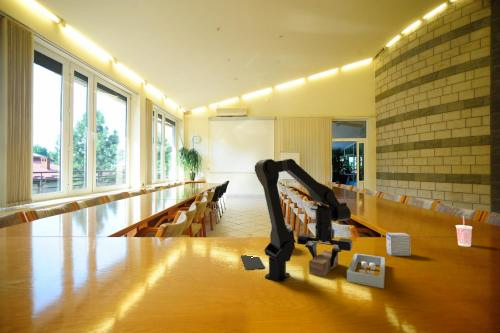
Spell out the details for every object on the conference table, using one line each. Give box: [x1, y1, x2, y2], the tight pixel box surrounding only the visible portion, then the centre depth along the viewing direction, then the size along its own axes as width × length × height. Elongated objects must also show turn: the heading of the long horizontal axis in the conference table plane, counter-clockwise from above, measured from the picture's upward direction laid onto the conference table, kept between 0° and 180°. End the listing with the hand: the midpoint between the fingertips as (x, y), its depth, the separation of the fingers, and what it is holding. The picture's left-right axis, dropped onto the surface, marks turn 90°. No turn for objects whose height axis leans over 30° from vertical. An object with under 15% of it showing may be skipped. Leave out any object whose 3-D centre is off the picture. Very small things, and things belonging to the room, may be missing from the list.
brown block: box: [308, 250, 339, 278], centre depth 91 cm, size 15×5×4 cm, turn 142°
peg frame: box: [346, 253, 386, 289], centre depth 87 cm, size 21×10×3 cm, turn 151°
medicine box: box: [385, 232, 412, 257], centre depth 106 cm, size 8×4×9 cm, turn 84°
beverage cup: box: [455, 215, 473, 248], centre depth 120 cm, size 6×6×14 cm
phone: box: [240, 254, 266, 271], centre depth 97 cm, size 7×1×15 cm
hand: (324, 265), depth 91 cm, fingers closed on brown block, 5 cm apart
